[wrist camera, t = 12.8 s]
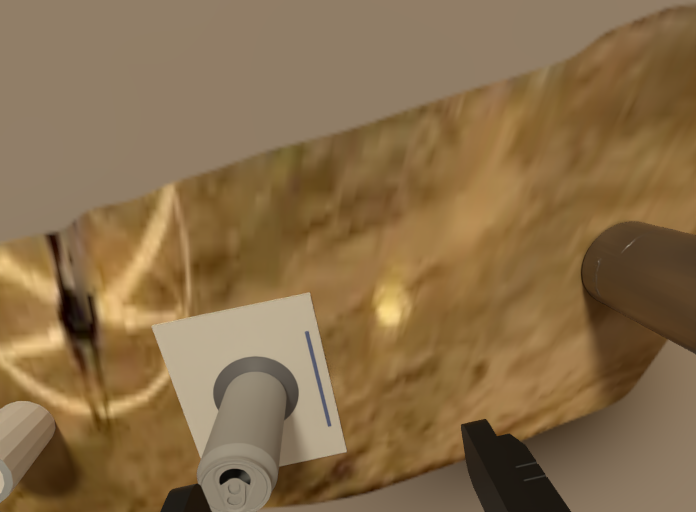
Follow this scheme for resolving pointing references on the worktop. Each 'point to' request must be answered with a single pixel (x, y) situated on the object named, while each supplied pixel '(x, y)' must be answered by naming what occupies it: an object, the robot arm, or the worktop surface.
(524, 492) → the robot arm
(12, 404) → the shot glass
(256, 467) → the beverage can
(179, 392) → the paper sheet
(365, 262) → the worktop surface
